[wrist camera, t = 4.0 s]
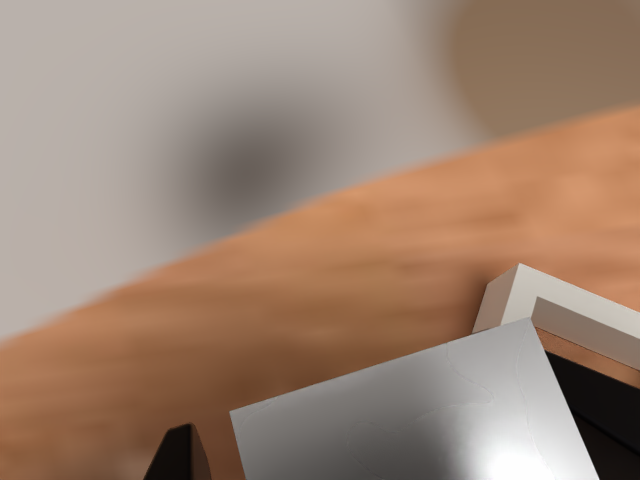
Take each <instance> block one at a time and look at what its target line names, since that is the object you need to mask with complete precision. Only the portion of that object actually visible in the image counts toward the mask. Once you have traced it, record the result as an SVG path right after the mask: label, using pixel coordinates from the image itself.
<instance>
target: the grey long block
mask: <svg viewBox="0 0 640 480" xmlns="http://www.w3.org/2000/svg"><path fill="white" fill-rule="evenodd" d="M229 413H230V417H231V421H232V425H233V429H234V433H235V437H236V441H237V445H238V449H239V453H240V457H241V462H242V466H243V470H244V474H245V478H246V480H599V477H598V475H597V473H596V470H595V468H594V466H593V463H592V461H591V459H590V456H589V454H588V452H587V449H586V447H585V445H584V442H583V440H582V438H581V435H580V433H579V431H578V428H577V426H576V424H575V421H574V419H573V417H572V414H571V412H570V410H569V407H568V405H567V403H566V400H565V398H564V396H563V393H562V391H561V389H560V386H559V384H558V382H557V379H556V377H555V375H554V372H553V370H552V368H551V365H550V363H549V361H548V358H547V356H546V354H545V351H544V349H543V346H542V344H541V342H540V339H539V337H538V335H537V332H536V330H535V328H534V325H533V323H532V321H531V318H530V317H526V318H523V319H520V320H517V321H514V322H511V323H507V324H504V325H501V326H498V327H495V328H492V329H488V330H485V331H482V332H479V333H476V334H473V335H470V336H466V337H463V338H460V339H457V340H454V341H451V342H447V343H444V344H441V345H438V346H435V347H432V348H428V349H425V350H422V351H419V352H416V353H413V354H409V355H406V356H403V357H400V358H397V359H394V360H390V361H387V362H384V363H381V364H378V365H375V366H371V367H368V368H365V369H362V370H359V371H356V372H352V373H349V374H346V375H343V376H340V377H337V378H333V379H330V380H327V381H324V382H321V383H318V384H314V385H311V386H308V387H305V388H302V389H299V390H295V391H292V392H289V393H286V394H283V395H280V396H276V397H273V398H270V399H267V400H264V401H261V402H257V403H254V404H251V405H248V406H245V407H242V408H238V409H235V410H232V411H229Z"/></svg>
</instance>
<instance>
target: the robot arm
mask: <svg viewBox="0 0 640 480" xmlns="http://www.w3.org/2000/svg"><path fill="white" fill-rule="evenodd" d="M489 329H490V328H489ZM485 330H488V329H484V330H481V331H478V332H475V333H472V334H471V335H473V334H476V333H479V332H482V331H485ZM544 351H545V354H546V356H547V358H548V361H549V363H550V365H551V368H552V370H553V372H554V375H555V377H556V379H557V382H558V384H559V386H560V389H561V391H562V393H563V396H564V398H565V400H566V403H567V405H568V407H569V410H570V412H571V414H572V417H573V419H574V421H575V424H576V426H577V428H578V431H579V433H580V435H581V438H582V440H583V442H584V445H585V447H586V449H587V452H588V454H589V456H590V459H591V461H592V463H593V466H594V468H595V470H596V473H597V475H598V477H599V480H640V389H639V388H636V387H634V386H631V385H629V384H626V383H624V382H622V381H619V380H617V379H614V378H612V377H609V376H607V375H605V374H602V373H600V372H597V371H595V370H592V369H590V368H587V367H585V366H583V365H580V364H578V363H575V362H573V361H570V360H568V359H565V358H563V357H561V356H558V355H556V354H553V353H551V352H548V351H546V350H544ZM143 480H211V474H210V468H209V464H208V460H207V457H206V454H205V451H204V448H203V446H202V443H201V440H200V438H199V435H198V432H197V430H196V427H195V425H194V424H193V423H190V422H189V423H185V424H182V425H179V426H176V427H173V428H170V429H169V430H168V431H167V432H166V433H165V435H164V437H163V439H162V441H161V444H160V446H159V448H158V450H157V452H156V454H155V456H154V458H153V460H152V462H151V464H150V466H149V468H148V470H147V472H146V474H145V476H144V478H143Z"/></svg>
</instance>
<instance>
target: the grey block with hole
mask: <svg viewBox="0 0 640 480" xmlns="http://www.w3.org/2000/svg"><path fill="white" fill-rule="evenodd" d="M526 317H530V318H531V321H532V323H533V325H534V326H535V327H537V328H540V329H542V330H545V331H547V332H549V333H552V334H554V335H556V336H559V337H561V338H563V339H566V340H568V341H571V342H573V343H575V344H578V345H580V346H582V347H585V348H587V349H590V350H592V351H594V352H597V353H599V354H601V355H604V356H606V357H608V358H611V359H613V360H616V361H618V362H620V363H623V364H625V365H627V366H630V367H632V368H634V369H637V370H639V371H640V313H639V312H637V311H634V310H632V309H630V308H627V307H625V306H622V305H620V304H617V303H615V302H613V301H610V300H608V299H605V298H603V297H601V296H598V295H596V294H593V293H591V292H589V291H586V290H584V289H581V288H579V287H577V286H574V285H572V284H569V283H567V282H565V281H562V280H560V279H557V278H555V277H552V276H550V275H548V274H545V273H543V272H540V271H538V270H536V269H533V268H531V267H528V266H526V265H524V264H521V263H518V264H517V265H515V266H514V267H512V268H511V269H509V270H508V271H506V272H505V273H503V274H502V275H500V276H499V277H497V278H495V279H494V280H492V281H491V282H489V283H488V284H487V287H486V290H485V294H484V297H483V300H482V303H481V306H480V309H479V312H478V315H477V319H476V322H475V325H474V328H473V331H472V333H475V332H478V331H481V330H484V329H489V328H490V329H492V328H495V327H498V326H501V325H504V324H507V323H511V322H514V321H517V320H520V319H523V318H526Z"/></svg>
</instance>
